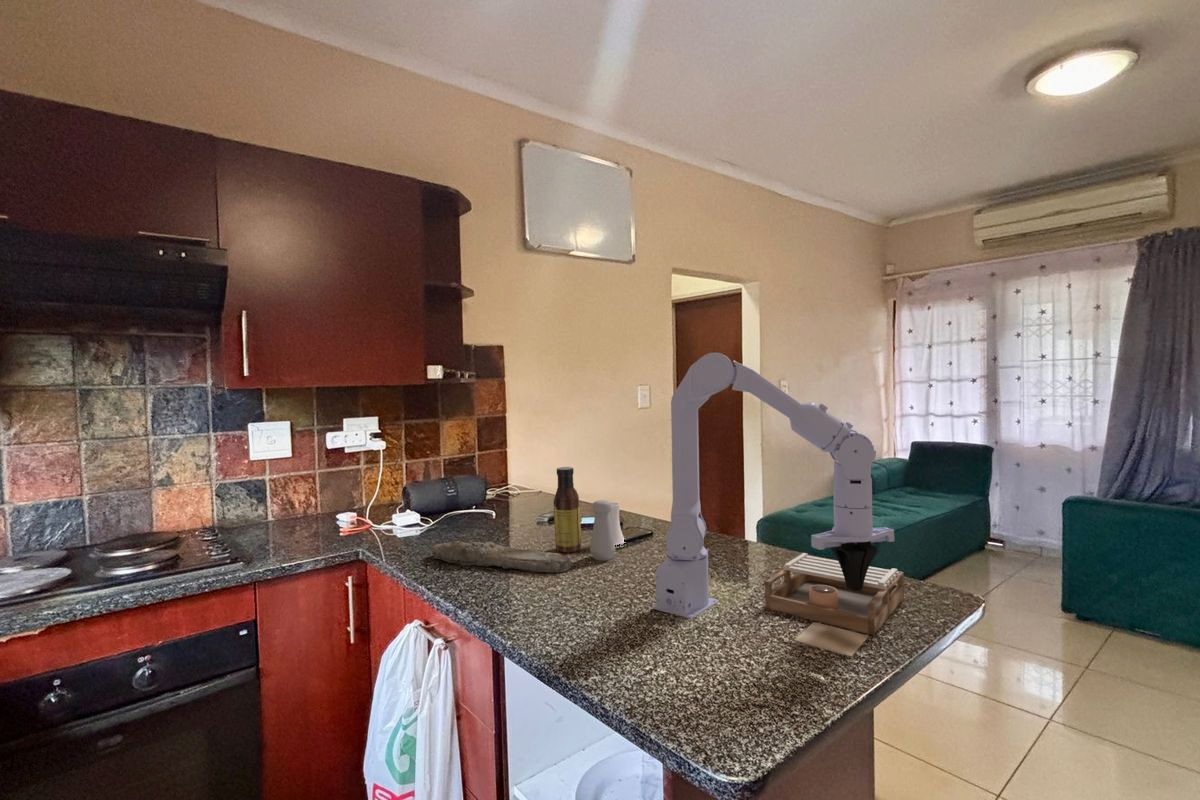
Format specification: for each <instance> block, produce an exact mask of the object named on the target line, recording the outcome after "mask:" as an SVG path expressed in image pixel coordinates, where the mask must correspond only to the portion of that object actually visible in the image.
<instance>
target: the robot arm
mask: <svg viewBox="0 0 1200 800" xmlns="http://www.w3.org/2000/svg"><path fill="white" fill-rule="evenodd" d="M733 364H734V365H733ZM732 384H733V385H732ZM730 385H732V388H731V390H732V391H738V392H745V393H748V394H751V395H753V396H754V397H755V398H757V399H759V400H760V401H762V402H763V403H765V404H766V405H768V406H770V407H771V408H773V409H775V410H776V411H778V412H779V413H781V414H782V415H783V416H785V417H786V418H788V419H789V422H790V428H791V431H793V433H796V434H797V435H798V436H799V437H801V438H803V439H804V440H806V441H807V442H809V443H810V444H811V445H812V446H815V448H817V449H819V450H821V451H822V452H824V453H829V455H830V457H831V458H832V459H833V471H834V472H833V477H832V485H833V486H832V488H833V489H832V490H833V527H832V530H829V531H828V530H827V531H824V532H821V533H816V534H811V537H810V540H811V541H810V543H811V548H813V549H816V550H819V551H822V550H825V549H827V548H830V549H831V550H832V552H833V554H834V555H835V558H836V559H837V561H838V562H839V564H840V566H841V569H842V572H843V575H844V578H845V582H846V586H847V588H849V589H852V590H854V591H860V590H862V587H863V583H864V580H865V576H866V573H867V570H868V568H869V566H870V565H871V563H872V562H873V560H874V558H875V557H876V555H877V554H878V547H877V546H874V545H872V543H879V542H888V543H889V542H890V543H891V542H895V530H894V529H893V528H889V527H886V526H884V527H873V525H874V524H873V480H872V475H871V472H872V467H871V465H872V464H873V462H874V461H875V458H876V455H877V451H876V450H875V448H874V444H873V443H872V441H871V440H870V439H869V437H867V436H866V435H864V434H862V433H858V431H857V430H854V429H852V428H853V426H854V425H853V424H852V423H850V422H848V421H846V422H843V421H842V420H840V419H839V418H837V417H836V416H835V415H833V414H832V413H830V412H829V411H827V410H828V406H826V405H825V404H823V403H818V404H817V403H815V401H814V402H813V401H810V402H809V401H808V402H805V403H804V402H803V403H801V402H799V401H798V400H796V399H795V398H793V397H792V396H791V395H789V394H788V393H786V392H785V391H783V390H782V389H781V388H779V387H778V386H777V385H775V384H773V383H772V382H771V381H770V380H768V379H767V378H765V377H764V376H762V375H761V374H760V373H759V372H757V371H756V370H754V369H752V368H750V367H748V366H746V365H743V364H742V363H740V362H737V361H736V360H733V362H732V360H731V359H730V358H729V357H728V356H726V355H724V354H723V353H721V352H708V353H707V354H705V355H703V356H701V358H699V359H697V361H695V362H694V363H692V365H690V367H689V368H688V370H687V372H686V373H685V376H684V377H683V379H682V380H681V381H680V383H679V384H678V387H676V390H675V391H674V392H673V394H672V396H671V400H670V409H671V410H670V413H671V416H670V417H671V419H670V421H671V422H670V424H671V464H672V465H671V469H672V470H671V471H672V472H671V474H672V475H671V477H672V479H671V480H672V484H671V485H672V504H671V510H670V511H671V512H670V525H669V528H668V529H667V532H666V533H665V545H666V550H665V551H666V554H665V559H664V561H663V562H662V563H661V564H659V566H658V567H657V568H656V571H655V599H656V600H655V601H656V602H655V603H654V604H652V607H651V608H652V609H653V610H656V611H660V612H662V613H663V612H664V613H666V614H671V615H675V616H676V615H677V616H679V617H683V618H687V619H693V618H695V617H696V616H699V615H701V614H702V613H703V612H705V611H707V610H708V609H710V608H711V607H713V606H715V605H717V604H718V603H719V602H720V601H719V599H716V598H713V597H710V591H709V590H710V588H709V580H710V579H709V551H708V550H707V549H706V548H705V546H704V543H705V542H704V541H705V540H704V539H705V537H706V535H707V524H706V521H705V520H704V517H703V515H702V511H701V510H702V509H701V499H700V498H701V497H700V448H699V447H700V445H699V442H700V441H699V409H700V408H701V407H702V406H703V405H704V404H705V403H706V402H707V401H709V399H710V398H711V397H712V396H713V395H716V394H718V393H720V392H722V391H723V390H725V389H727V388H729V387H730Z"/></svg>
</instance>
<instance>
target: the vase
mask: <svg viewBox="0 0 1200 800" xmlns="http://www.w3.org/2000/svg"><path fill="white" fill-rule="evenodd" d="M610 503H611V511H610V512H609V516H610V522H611V527H612V533H613V538H614V544H615V545H616V547H615V549H620V548H623V547H624V546H621V545H623V544H624V543H626V542H624V539H625V537H624V535H623V531H622V529H621V523H620V503H618V502H610ZM619 544H620V548H619V546H618V547H617V545H619Z"/></svg>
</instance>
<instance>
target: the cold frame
mask: <svg viewBox="0 0 1200 800" xmlns="http://www.w3.org/2000/svg"><path fill="white" fill-rule="evenodd" d="M808 556H810V555H809V554H808ZM898 571H899V575H898V576H896V579H895V580H894V579H893V582H892V583H890V585H889V586H887V588H886V589H885V590H884V589H879V588H874V587H869V586H864V585H863V587H862V590H860V591H854V590H852V589H849V588H847V586H846V582H843V581H838V580H833V579H828V578H823V577H818V576H813V575H808V574H803V573H798V572H796V574H794V575H792V576H791V571H787V570H784V569H782V570H780V571H779V572H777V573H776V574H774V575H773V576H771V577H769V578H768V579H766V580H765V581H764V600H765V601H764V603H765V605H764V606H765V609H767V610H771V611H774V612H775V611H776V612H779V613H783V614H787V615H791V616H794V617H798V618H803V619H806V620H811V621H814V622H818V623H822V624H826V625H827V624H828V625H830V626H834V627H838V628H842V629H846V630H850V631H854V632H858V633H862V634H866V635H871V636H875V634H876V633H877V632H878V631H879V630H880V629H881V628H882V626H883V624H884V623H885V622H886V621H887V620H888V619H889V617H890V616H891V615H892V614H893V612H894V611H896V609H897V607H898V606H899V604H901V603H902V602H903V600H904V599H905V583H904V582H905V580H904V578H905V576H904V571H900V570H898ZM781 578H784V579H783V580H784V582H782V583H781V584H779V585H778V586H776V587H775V588H773V589H772V584H773V583H775V582H776V581H777V580H779V579H781ZM812 585H827V586H831V587H834V588H836V589H837V590H838V610H836V609H832V608H827V607H823V606H819V605H814V604H810V603H809V587H810V586H812Z"/></svg>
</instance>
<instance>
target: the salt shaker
mask: <svg viewBox="0 0 1200 800" xmlns="http://www.w3.org/2000/svg"><path fill="white" fill-rule="evenodd" d="M611 503H612V502H610V501H608V500H605V499H599V500H596V501H594V502H593V503H592V512H594V513H595V514H594V521H593V527H592V532H591V533H592V534H591V538H590V544H589V550H590V553H591V555H592V558H593V559H594V560H595V561H599V562H603V561H604V562H605V561H609V560H612V559H613V557H614V553H615V551H616V548H615V544H614V538H613V533H612V527H611V522H610V516H609V512H610V511H611Z"/></svg>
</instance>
